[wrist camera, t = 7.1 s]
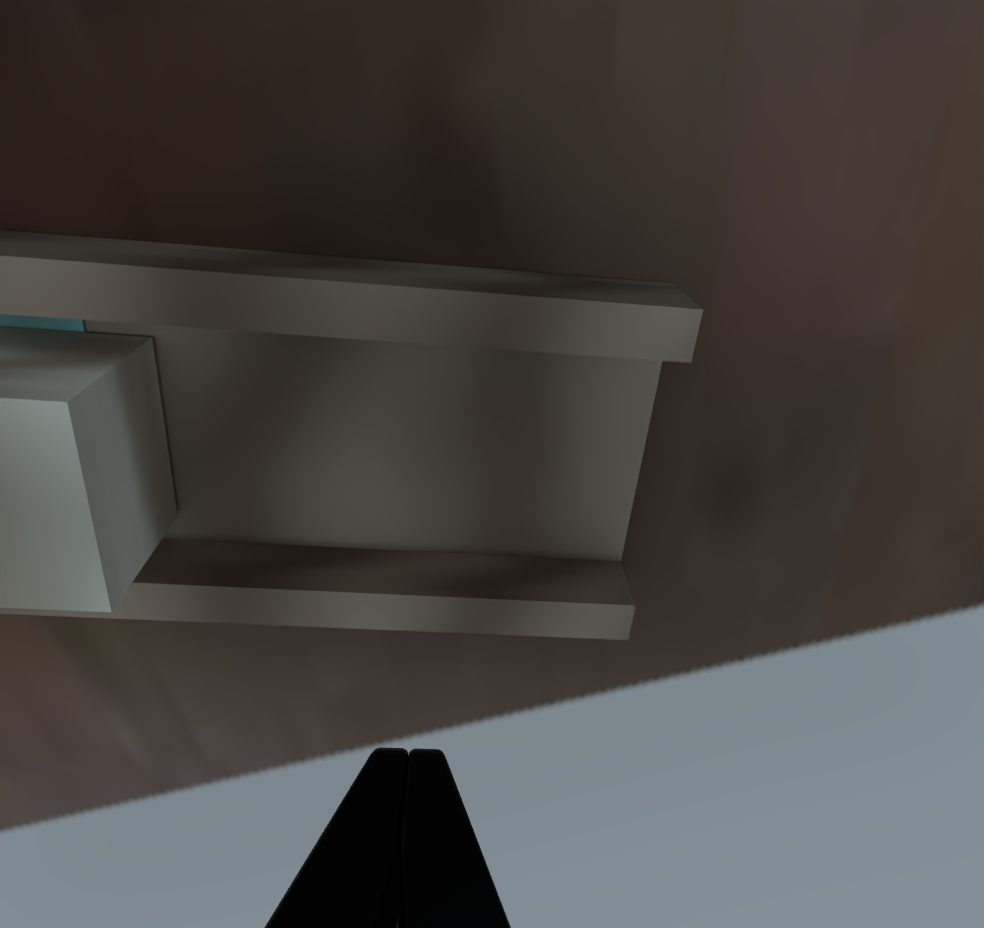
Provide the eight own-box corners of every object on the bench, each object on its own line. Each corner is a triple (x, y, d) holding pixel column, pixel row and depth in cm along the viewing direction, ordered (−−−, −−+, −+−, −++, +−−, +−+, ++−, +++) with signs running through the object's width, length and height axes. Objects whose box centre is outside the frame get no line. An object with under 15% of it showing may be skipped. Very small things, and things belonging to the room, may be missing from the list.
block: (151, 336, 17) (67, 402, 13) (177, 515, 19) (111, 612, 15) (-70, 321, 16) (-219, 384, 13) (-16, 505, 19) (-130, 602, 15)
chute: (673, 283, 17) (703, 309, 15) (611, 586, 21) (627, 640, 19) (-201, 213, 16) (-305, 232, 13) (-80, 553, 20) (-146, 607, 18)
